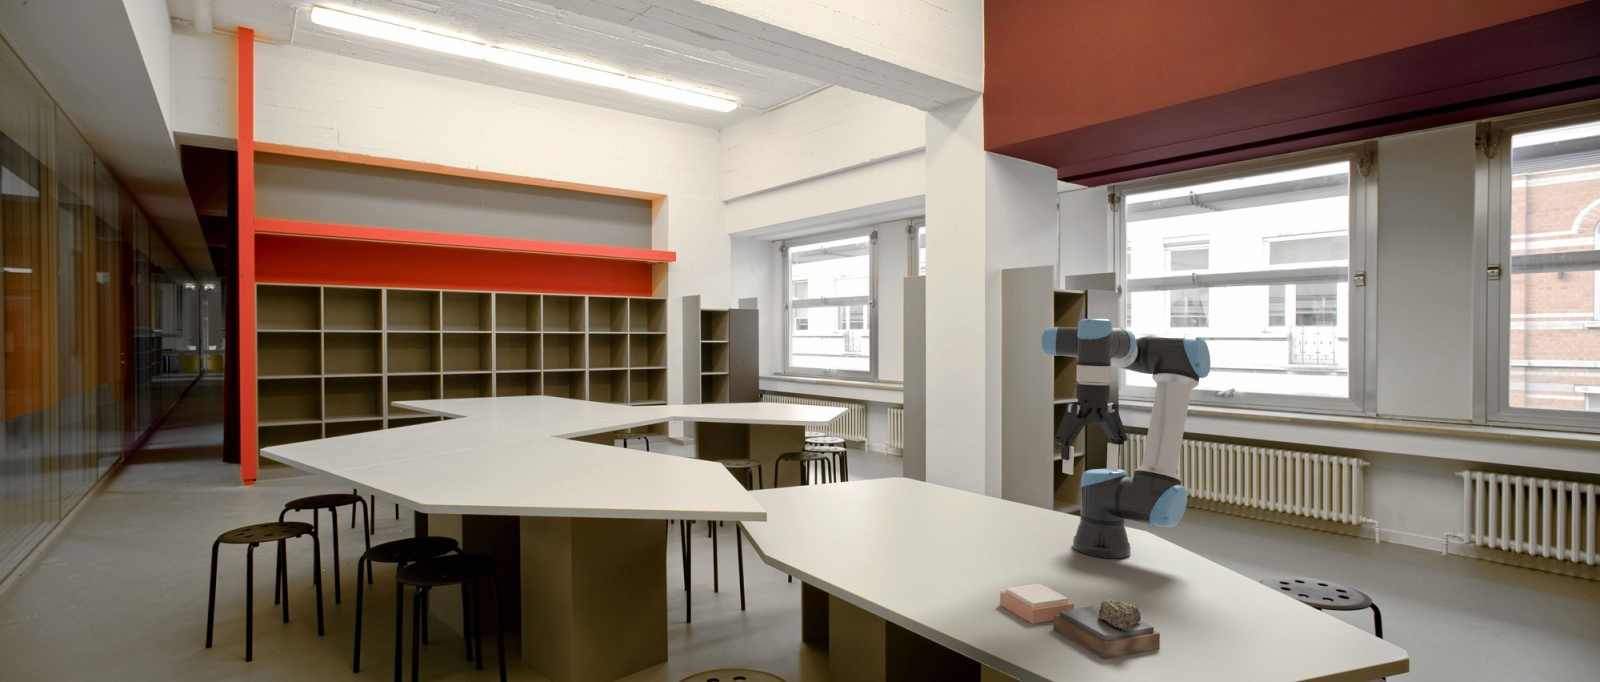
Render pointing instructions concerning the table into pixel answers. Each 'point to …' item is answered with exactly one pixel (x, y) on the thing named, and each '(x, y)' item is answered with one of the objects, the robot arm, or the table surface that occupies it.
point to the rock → (1119, 614)
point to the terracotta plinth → (1034, 602)
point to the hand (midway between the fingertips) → (1090, 472)
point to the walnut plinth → (1104, 633)
